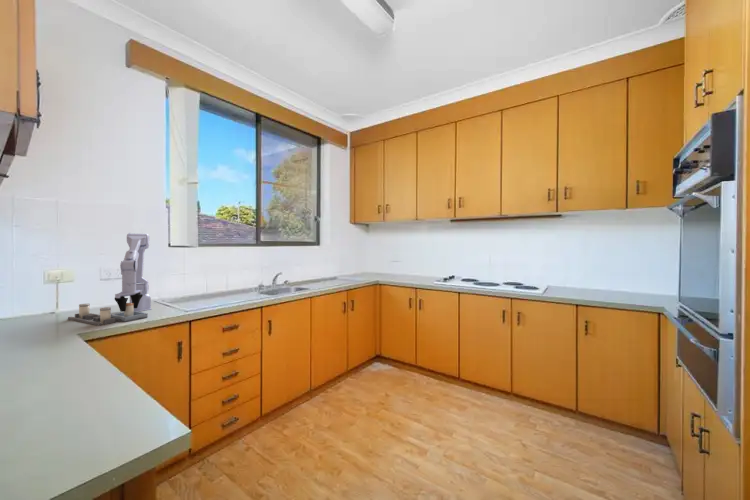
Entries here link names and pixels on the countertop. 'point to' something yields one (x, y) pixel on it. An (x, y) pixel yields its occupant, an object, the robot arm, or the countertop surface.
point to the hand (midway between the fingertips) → (129, 309)
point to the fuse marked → (129, 310)
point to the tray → (125, 319)
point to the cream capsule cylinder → (84, 310)
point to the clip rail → (95, 319)
